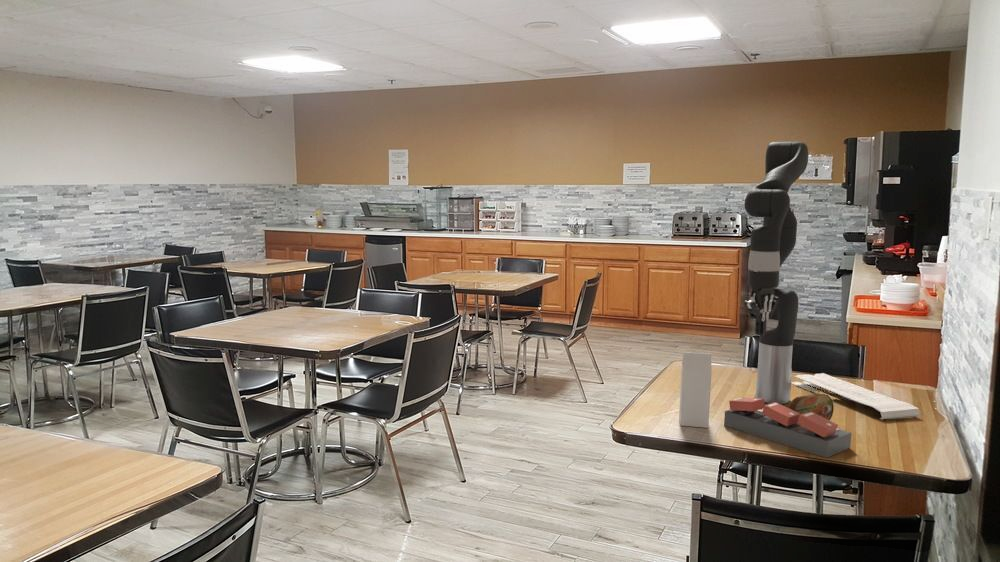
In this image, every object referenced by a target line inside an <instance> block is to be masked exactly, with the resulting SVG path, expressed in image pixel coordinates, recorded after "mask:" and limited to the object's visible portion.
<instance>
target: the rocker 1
mask: <svg viewBox="0 0 1000 562" xmlns="http://www.w3.org/2000/svg"><path fill="white" fill-rule="evenodd" d="M728 402H729V410H740V411H756V410H760V409H763V408H764V405H766V403H765V402H764V399H761V398H756V397H738V398H735V399H731V400H729V401H728Z"/></svg>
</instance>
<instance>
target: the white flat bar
mask: <svg viewBox="0 0 1000 562" xmlns="http://www.w3.org/2000/svg"><path fill="white" fill-rule="evenodd" d="M792 377H794V378H797V379H798V380H801V381H802V382H800V381H791V385H793V384H794V386H796V387H798V386H799V387H798V388H800V387H801V388H802V389H803V390H805V389H806V391H807V392H810V391H813V392H814V391H818V392H820V390H817V388H820V387H821V388H820V389H822V388H823V389H826V390H828V391H831V392H833V393H835V394H838V395H840V396H842V397H844V398H846V399H848V400H850V401H854V402H855V403H859V404H861V405H865V406H868V407H871V408H873V409H874V410H876V411H878V412H880V416H881V417H880V418H879V419H881V420H880V421H884V420H883V419H890V420H897V419H896V418H903V419H908V418H907V417H916V418H918V417H920V416H921V411H920V408H918V407H916V406H915V405H912V403H911V404H910V403H909V402H905V401H901V400H898V399H895V398H892V397H889V396H887V395H884V394H881V393H878V392H875V391H873V390H871V389H868V388H865V387H862V386H859V385H857V384H854V383H852V382H848V381H846V380H843V379H840V378H838V377H834V376H832V375H830V374H827V373H825V372H821V373H815V374H814V375H813V374H797V375H792ZM807 384H808V385H810V386H811V387H810V386H808V385H807ZM812 386H813V387H816V389H815V388H813V387H812ZM801 388H800V389H801ZM821 391H822V390H821ZM822 392H823V391H822ZM917 416H918V417H917Z"/></svg>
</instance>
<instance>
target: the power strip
mask: <svg viewBox="0 0 1000 562" xmlns="http://www.w3.org/2000/svg"><path fill="white" fill-rule="evenodd" d="M762 412H763V409H760V410H756V411H740V410H730V409H727V410H724V421H723V426H725V427H728V428H730V429H733V430H735V431H736V430H737V431H739V432H743V433H746V434H750V435H752V436H756V437H759V438H762V439H765V440H768V441H771V442H775V443H778V444H781V445H784V446H787V447H790V448H794V449H797V450H799V451H803V452H807V453H808V454H809V453H810V454H812V455H816V456H818V455H819V457H821V456H822V457H821V458H825V459H827V458H830V456H831V457H833V456H835V454H836V455H838V454H840V453H842V452H841V451H843V452H845V451H847V450H846V449H848V448H850V449H851V441H852V432H851V431H849V430H848V431H847V430H844V429H840V428H838V427H837V429H836V432H835V434H832V435H830V436H827V437H822V436H820V435H818V434H816V433H814V432H812V431H810V430H808V429H806V428H804V427H803V426H801V425H799V424H797V423H795V424H792V425H789V426H785V425H783V424H781V423H779V422H777V421H775V420H773V419H771V418H769V417H767V416H765V415H763V414H762ZM844 450H845V451H844ZM848 450H849V449H848ZM839 452H840V453H839ZM837 453H838V454H837ZM832 455H833V456H832Z"/></svg>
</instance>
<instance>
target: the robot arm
mask: <svg viewBox="0 0 1000 562" xmlns="http://www.w3.org/2000/svg"><path fill="white" fill-rule="evenodd" d="M764 163H765V166H764V167H765V168H764V169H765V173H764V175H765V176H764V177H763V179H762V182H760V183H759V184H757V185H755V186H754V187H753V188H751V189H750V190H749V192H748V193H747V194H746V196H745V199H744V205H743V206H744V210H745V212H746V213H747V215H748V216H750V217H752V218H762V219H763V221H762V226H756V227H754V228H753V229H751V231H750V245H749V247H750V248H749V249H750V250H749V254H748V265H747V266H748V268H747V286H748V287H750V288H751V291H750V298H749V300H745V301H744V302H743V303H744V304H743V305H744V307H745V309H746V310H747V311H746V312H747V313H748V316H749V318H750V319H751V320H752V319H753V320H754V321H755V325H754V327H755V328H754V329H755V330H754V331H755V332H754V333H755V335H756V336H759V342H758V359H757V361H758V362H757V372H756V387H755V398H761V399H764V403H765V404H770V403H774V402H776V403H779V404H781V405H784V404H785V405H786V404H788V403H789V402H790V400H791V388H792V384H791V382H792V377H793V374H792V373H793V369H792V361H793V360H792V359H793V347H794V338H795V334H796V329H797V328H796V327H797V320H798V313H799V296H798V294H797V293H796V292H795V291H794V290H792V289H784V288H783V289H782V288H778V287H779V285H780V283H779V282H780V268H781V267H782V265H783V264H784V263H785V261H786V260H787V258H788V257H789V256H790V255H791V253H792V251H793V250H794V248H795V246H796V243H797V234H798V233H797V232H798V231H797V229H798V228H797V227H798V220H797V217H796V215H795V213H794V212H793V210H792V208H791V206H790V204H791V198H790V195H789V191H790V188H791V187H792V185H793V184H794V183H795V182H796V181H797V180H798V179H799V178H800V177H801V176H802V175H803V174H804V172H805V171H806V170H807V167H808V163H809V148H808V145H807V144H806V143H805V142H802V141H772V142H770V143H769V144H768V145H767V147H766V153H765V162H764ZM769 320H770V321H771V320H772V321H777V326H776V327H775V328H773V329H772V328H771V329H769V330H767V322H768V321H769Z"/></svg>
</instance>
